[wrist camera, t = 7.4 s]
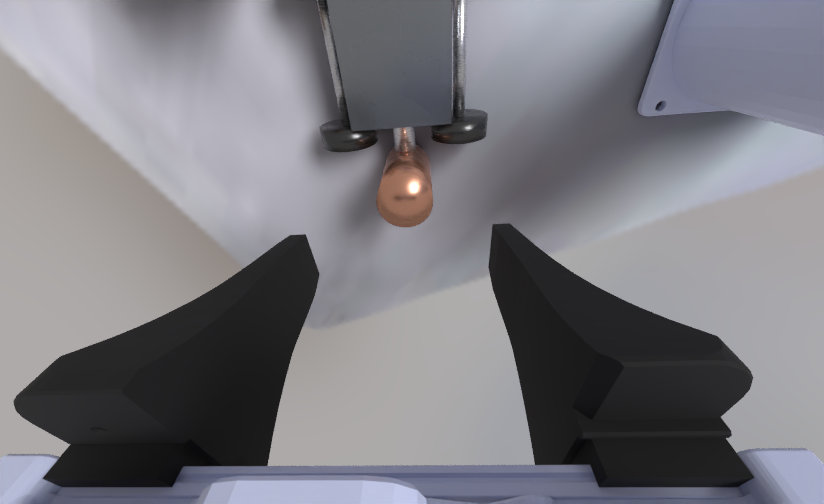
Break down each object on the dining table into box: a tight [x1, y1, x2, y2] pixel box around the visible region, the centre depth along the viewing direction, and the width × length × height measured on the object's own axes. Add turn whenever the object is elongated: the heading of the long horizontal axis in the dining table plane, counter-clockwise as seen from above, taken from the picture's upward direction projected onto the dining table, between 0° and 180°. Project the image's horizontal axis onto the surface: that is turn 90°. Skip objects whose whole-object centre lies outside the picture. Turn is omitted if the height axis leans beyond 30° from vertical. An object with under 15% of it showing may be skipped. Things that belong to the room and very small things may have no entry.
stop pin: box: [376, 127, 433, 227], centre depth 15 cm, size 3×8×5 cm, turn 4°
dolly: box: [316, 0, 488, 152], centre depth 14 cm, size 9×8×3 cm
